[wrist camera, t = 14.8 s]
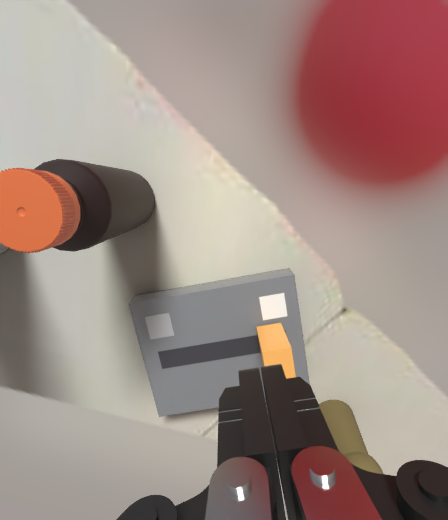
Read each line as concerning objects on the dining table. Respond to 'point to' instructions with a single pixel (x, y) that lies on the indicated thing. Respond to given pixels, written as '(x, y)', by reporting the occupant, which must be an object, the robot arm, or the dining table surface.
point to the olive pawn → (348, 435)
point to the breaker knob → (276, 348)
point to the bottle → (70, 205)
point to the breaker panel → (212, 336)
